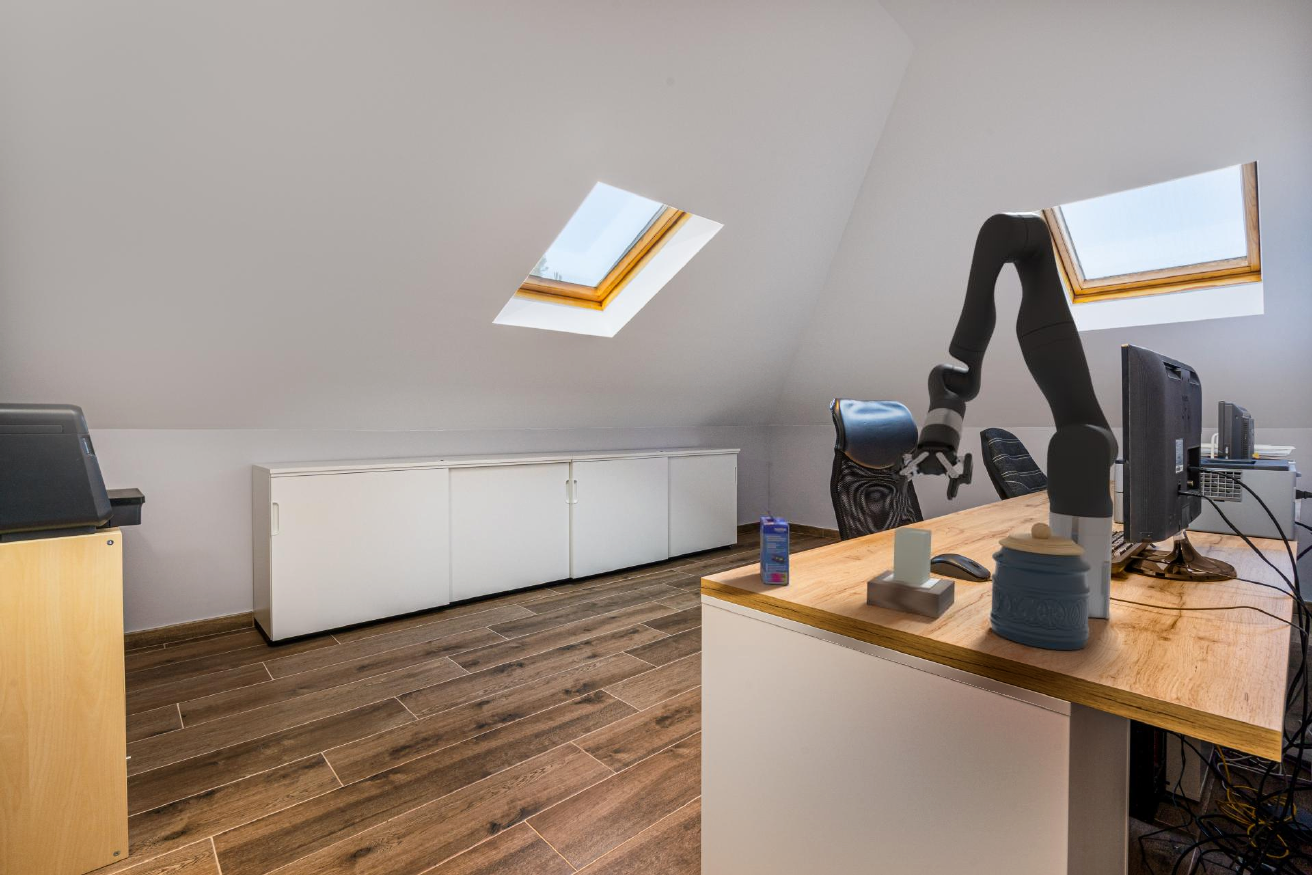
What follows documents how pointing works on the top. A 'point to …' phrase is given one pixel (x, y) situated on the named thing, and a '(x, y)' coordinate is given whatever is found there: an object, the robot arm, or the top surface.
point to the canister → (1041, 590)
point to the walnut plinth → (911, 595)
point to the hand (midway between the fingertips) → (924, 495)
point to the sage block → (912, 555)
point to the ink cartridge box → (774, 550)
